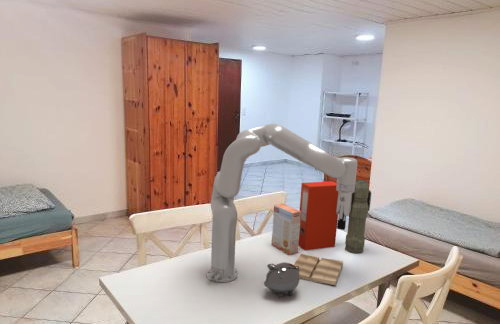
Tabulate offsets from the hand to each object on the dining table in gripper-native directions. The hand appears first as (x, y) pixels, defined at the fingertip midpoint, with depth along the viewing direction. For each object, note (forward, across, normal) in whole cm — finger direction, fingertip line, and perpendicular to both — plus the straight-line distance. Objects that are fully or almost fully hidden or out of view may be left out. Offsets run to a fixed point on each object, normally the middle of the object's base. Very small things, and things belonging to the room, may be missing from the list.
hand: (341, 228), depth 155 cm
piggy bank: (+19, -30, +16) cm, 39 cm away
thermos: (+18, +24, -4) cm, 31 cm away
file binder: (+19, +20, +14) cm, 31 cm away
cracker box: (+19, +9, +27) cm, 34 cm away
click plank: (+18, -6, +3) cm, 19 cm away
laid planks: (+19, -6, +13) cm, 23 cm away
